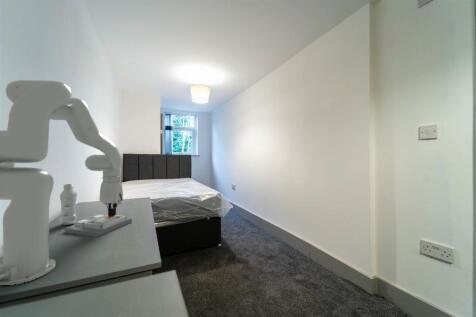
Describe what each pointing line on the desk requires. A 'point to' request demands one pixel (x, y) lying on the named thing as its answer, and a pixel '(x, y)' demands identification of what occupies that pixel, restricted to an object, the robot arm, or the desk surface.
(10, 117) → the robot arm
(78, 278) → the desk surface
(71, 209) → the plastic bottle
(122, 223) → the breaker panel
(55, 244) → the desk surface
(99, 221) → the breaker switch
